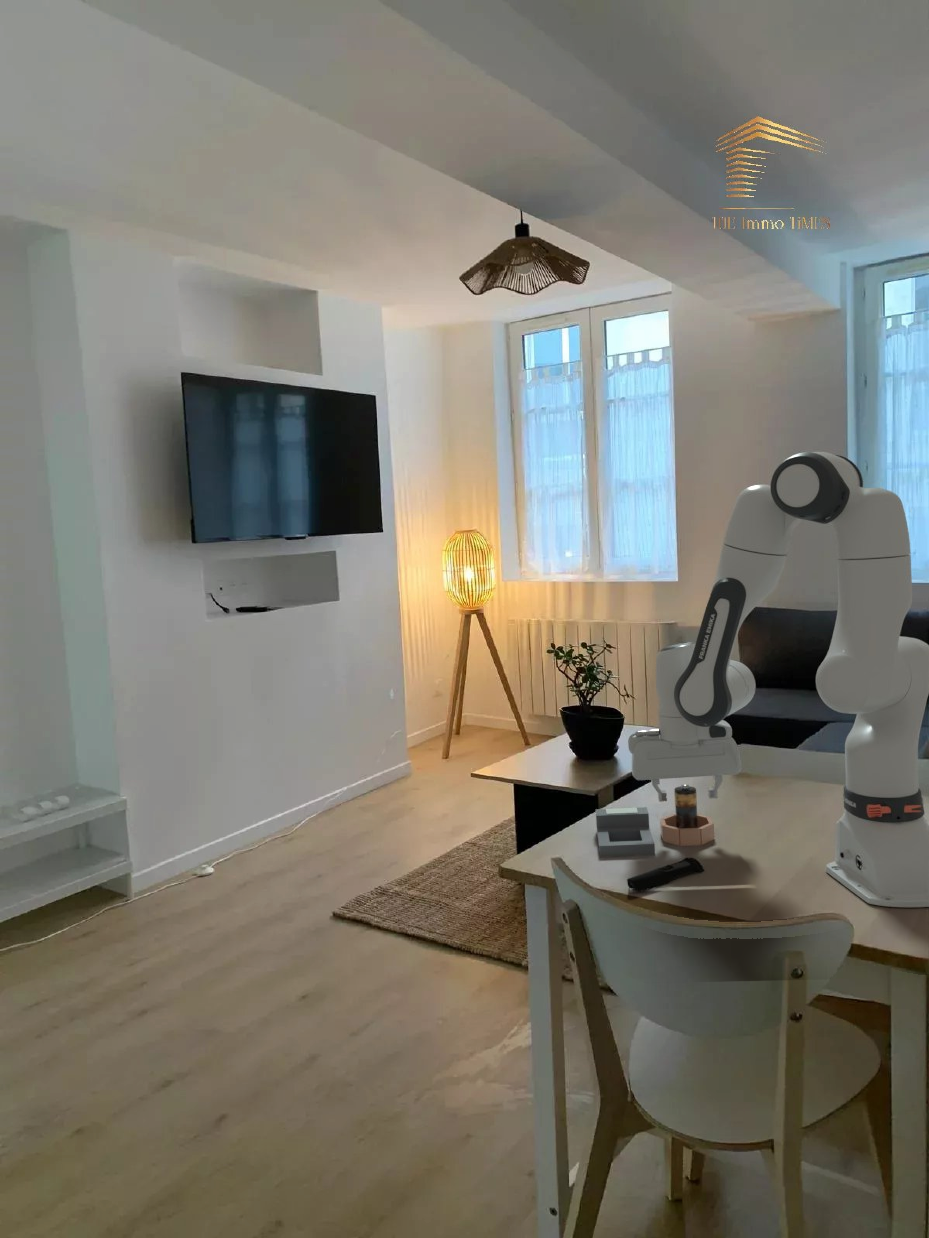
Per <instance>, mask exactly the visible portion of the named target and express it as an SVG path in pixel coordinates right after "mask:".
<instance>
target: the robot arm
mask: <svg viewBox="0 0 929 1238" xmlns="http://www.w3.org/2000/svg"><path fill="white" fill-rule="evenodd" d="M804 520H805V521H810V522H814V523H818V524H821V525H822V524H823V525H824V524H825V525H827V524H829V525H830V527H831V528H832V529H833V533H834V536H835V542H836V543H835V545H836V564H837V565H836V568H837V596H838V597H837V600H838V601H837V602H838V603H837V611H836V612H837V613H836V618H835V624H834V628H833V633H832V637H831V639H830V644H829V649H828V650H827V653H826V655H825V657H824V659H823V661H822V662H821V663H820V665H819V666H818V668H817V671H816V674H815V688H816V691H817V693H818V695H819V697H820V699H821V700H822V702H823V703H824V704H825V705H826V706H827V707H828V708H830V709H831V710H832V711H835V712H837V713H840V714H841V713H842V714H850V715H852V714H853V715H856V717H855V720H854V724H853V725H852V728H851V729H850V732H849V733H848V734H847V736H846V738H845V742H844V757H845V758H844V761H845V764H844V765H845V785H844V786H843V793H842V800H843V808H844V809H845V810H844V813H843V815H842V816H840V819H838V820H837V821H836V823H835V830H834V831H835V832H834V833H835V834H834V835H835V836H834V861H831V862H829V863H826V865H825V872H826V873H827V874H829V875H830V876H831V877H833V878H834V879H835V880H837V881H838V882H840V884H842V885H843V886H844V887H846V888H847V889H849V890H850V891H851V892H852V893H853V894H855V895H856V896H858V898H861V900H863V901H864V902H866V903H867V904H870V905H876V906H880V907H881V906H882V907H889V908H890V907H891V908H926V907H927V908H929V822H928V818H926V816H925V808H924V804H925V803H924V799H923V796H922V795H923V794H922V791H921V789H920V788H919V739H920V734H921V729H922V723H923V719H924V714H925V711H926V710H925V709H926V706H927V702H928V701H927V700H928V697H929V644H928V643H927V642H925V641H923V640H921V639H919V638H915V637H909V636H901V632H902V627H903V623H904V620H905V618H906V615H907V613H908V612H909V611H910V609H911V606H912V603H913V585H912V584H913V580H912V577H913V576H912V560H911V559H912V558H911V552H912V551H911V542H910V532H909V527H908V522H907V517H906V513H905V509H904V505H903V501H902V499H901V498H900V496H898V495H897V494H896V493H895V492H893V491H891V490H889V489H884V488H880V487H866V488H865V487H864V478H863V475H862V473H861V470H860V469H859V467H858V466H857V465H856V464H855V463H854V462H853V461H852V460H850V459H849V458H847V457H845V456H842V455H838V454H833V453H831V452H827V451H811V452H810V451H803V452H800V453H796V454H793V455H791V456H789V457H787V458H786V459H785V460H783V461H782V462H780V464H779V465H778V466H777V468H776V469H775V470H774V472H773V475H772V477H771V479H770V484H755V485H754V484H753V485H751V486H748V487H746V488H745V489H743V490H742V491H741V492H740V493H739V494H738V497H737V499H736V501H735V503H734V506H733V509H732V511H731V514H730V516H729V520H728V522H727V526H726V530H725V532H724V533H725V534H724V538H723V542H722V545H721V546H722V547H721V551H720V555H719V561H718V565H717V570H716V574H715V578H714V580H713V583H712V587H711V591H710V594H709V595H710V596H709V598H708V601H707V604H706V606H705V609H704V613H703V617H702V620H701V624H700V627H699V630H698V634H697V637H696V641H686V642H685V641H684V642H682V643H681V642H680V643H675V644H672V645H668V646H665V647H663V648H661V650H660V651H659V652H657V657H656V660H655V691H656V694H657V697H658V701H659V703H658V708H657V709H658V710H657V716H658V717H657V718H658V729H648V730H638V731H637V730H636V731H635V732H634V733H632V734H631V735H630V736H629V737H628V741H627V745H628V751H629V752H630V753H631V774H632V777H633V778H634V779H635V780H637V781H646V780H647V781H648V780H649V781H650V782H651V784H652V787H653V788H654V790H655V791H656V792H657V796H658V797H657V798H658V802H660V803H661V802H667V801H668V798H667V790H661V788H660V787H659V785H660V784H661V783H660V782H661V781H660V780H666V779H683V778H699V777H700V778H701V777H713V780H714V782H713V785H712V786H711V787H708V788H707V790H708V791H707V792H708V794H707V795H708V799H710V800H711V799H713V800H714V799H718V797H719V796H718V789H719V788H720V786H721V785H722V782H723V776H730V775H738V774H739V773H740V771H741V770H742V761H741V755H740V751H739V746H738V744H737V743H736V740H735V739H734V738H733V737H732V736H733V729H732V726H731V725H730V723H728V722H727V721H726V720H724V719H725V718H726V717H729V716H731V715H732V714H734V713H736V712H737V711H739V710H741V709H743V708H744V707H746V706H747V705H749V704H750V703H751V701H753V699H754V697H755V694H756V690H757V684H756V677H755V675H754V674H753V672H752V670H751V668H749V667H748V666H747V665H746V664H744V663H743V662H741V661H739V660H736V659H731V658H732V656H733V652H734V648H735V645H736V641H737V638H738V635H739V631H740V629H741V626H742V625H743V623H744V621H745V620H746V618H747V617H748V615H749V614H751V612H752V611H753V610H754V608H756V607H757V606H758V605H759V604H760V603H761V602H763V601H764V600H765V599H767V597H768V596H770V595H771V594H772V593H773V592H774V591H775V590H776V588H777V586H778V584H779V582H780V579H781V577H782V574H783V572H784V569H785V565H786V561H787V557H788V552H789V547H790V543H791V540H792V535H793V533H794V531H795V529H796V527H797V526H798V524H800V523H801V522H802V521H804Z"/></svg>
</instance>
